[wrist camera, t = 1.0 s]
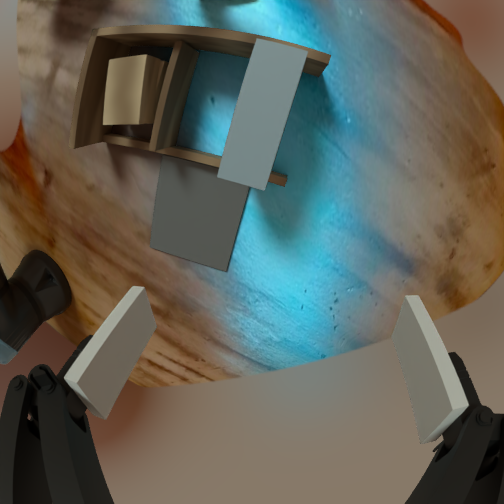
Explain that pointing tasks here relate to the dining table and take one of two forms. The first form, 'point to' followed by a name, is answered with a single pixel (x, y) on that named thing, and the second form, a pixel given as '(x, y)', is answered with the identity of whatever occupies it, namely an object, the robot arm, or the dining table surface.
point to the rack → (174, 86)
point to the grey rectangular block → (261, 113)
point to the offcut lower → (160, 83)
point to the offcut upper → (131, 90)
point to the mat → (196, 212)
